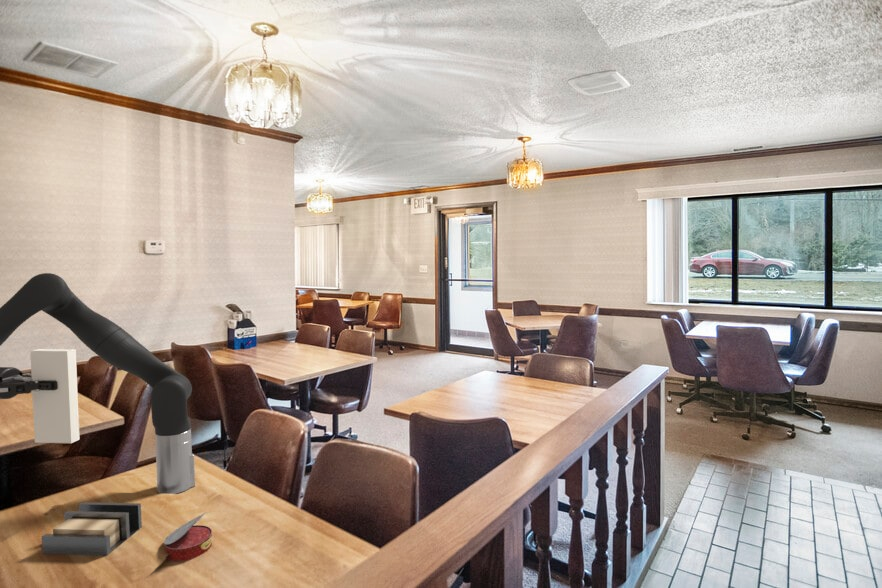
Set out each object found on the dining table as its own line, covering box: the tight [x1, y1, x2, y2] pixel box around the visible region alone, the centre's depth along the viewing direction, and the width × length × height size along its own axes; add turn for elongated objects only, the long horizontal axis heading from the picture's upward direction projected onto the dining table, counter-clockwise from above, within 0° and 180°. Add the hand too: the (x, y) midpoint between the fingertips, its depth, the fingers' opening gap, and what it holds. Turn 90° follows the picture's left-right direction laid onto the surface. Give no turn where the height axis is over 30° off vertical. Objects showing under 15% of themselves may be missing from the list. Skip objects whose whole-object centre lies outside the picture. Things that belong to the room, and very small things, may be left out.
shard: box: [42, 503, 65, 518], centre depth 127 cm, size 11×8×2 cm
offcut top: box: [52, 518, 119, 536], centre depth 112 cm, size 12×5×2 cm, turn 87°
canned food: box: [163, 512, 213, 562], centre depth 113 cm, size 11×10×10 cm
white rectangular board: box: [30, 348, 80, 444], centre depth 116 cm, size 9×2×22 cm, turn 87°
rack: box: [41, 501, 143, 557], centre depth 114 cm, size 15×12×8 cm
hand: (61, 383), depth 115 cm, fingers closed on white rectangular board, 2 cm apart
